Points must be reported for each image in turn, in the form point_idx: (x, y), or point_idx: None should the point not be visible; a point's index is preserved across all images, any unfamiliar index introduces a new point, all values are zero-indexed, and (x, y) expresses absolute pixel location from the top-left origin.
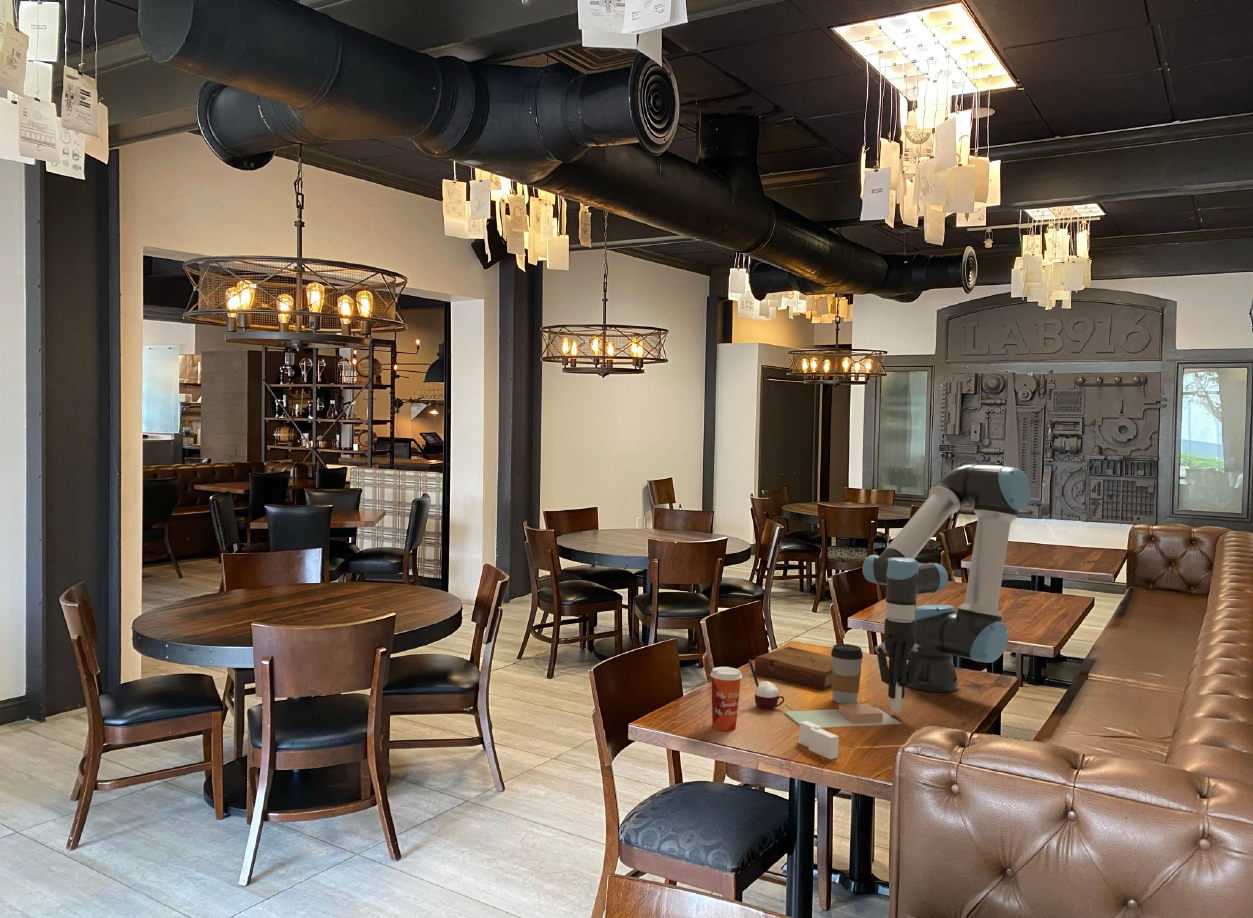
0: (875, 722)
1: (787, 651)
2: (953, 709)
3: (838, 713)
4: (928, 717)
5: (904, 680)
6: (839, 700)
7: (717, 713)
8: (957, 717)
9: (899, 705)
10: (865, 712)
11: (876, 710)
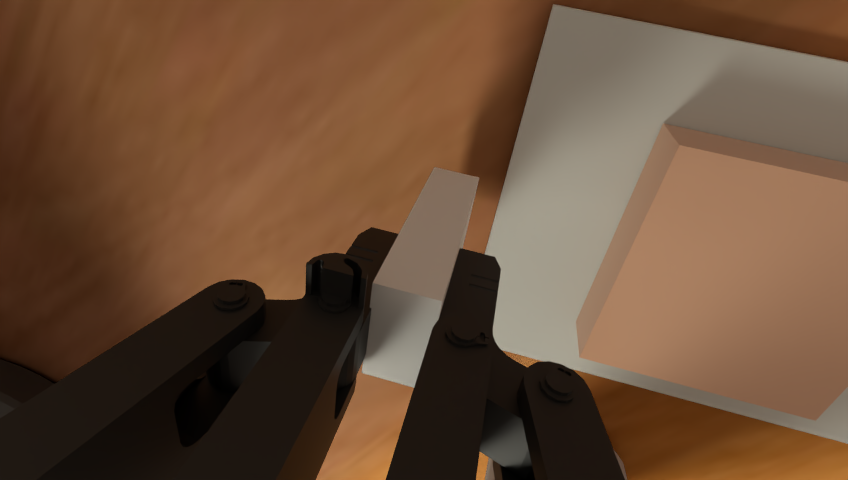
0: (753, 115)
1: None
2: (25, 172)
3: None
4: (232, 106)
5: (307, 331)
6: (624, 476)
7: None
8: (41, 37)
9: (436, 193)
10: (825, 214)
11: (667, 220)
